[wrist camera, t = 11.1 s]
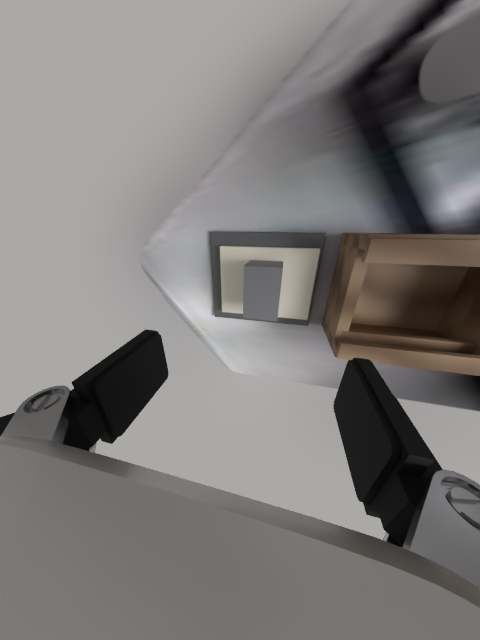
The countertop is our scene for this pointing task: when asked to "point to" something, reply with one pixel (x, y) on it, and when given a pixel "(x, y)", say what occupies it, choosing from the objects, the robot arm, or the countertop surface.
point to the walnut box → (407, 301)
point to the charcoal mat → (259, 241)
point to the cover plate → (291, 277)
